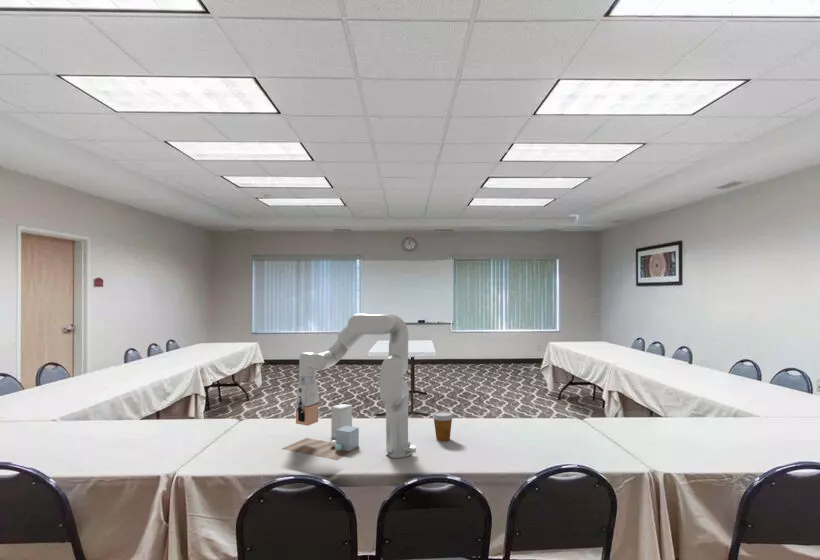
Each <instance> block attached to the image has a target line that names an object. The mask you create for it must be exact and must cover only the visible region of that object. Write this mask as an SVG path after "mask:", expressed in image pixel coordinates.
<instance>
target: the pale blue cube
mask: <svg viewBox="0 0 820 560" xmlns="http://www.w3.org/2000/svg"><path fill="white" fill-rule="evenodd" d="M359 428H360V427H358V426H352V427H351V426H344V427H342V428H339V429H337V430H336V438H335V440H336V444H341V445H342V449H341V450H346V451H351V450H352V449H354V448H356V447H359V446H360V445H359V444H360V439H359V438H360V436H359V435H360V433H359V432H360V429H359Z"/></svg>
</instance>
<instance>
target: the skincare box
mask: <svg viewBox="0 0 820 560" xmlns="http://www.w3.org/2000/svg"><path fill="white" fill-rule="evenodd" d="M344 426H351V427H353V405H352V404H347V403H346V404H345V403H341V404H337V405H332V406H331V435H330V436H331V438H334V439H336V430H337V429H339V428H342V427H344Z"/></svg>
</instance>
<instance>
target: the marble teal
mask: <svg viewBox="0 0 820 560" xmlns="http://www.w3.org/2000/svg"><path fill="white" fill-rule="evenodd" d="M341 449H342V445H341V444H336V446H335V450H336V451H340V450H341Z"/></svg>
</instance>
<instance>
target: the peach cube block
mask: <svg viewBox="0 0 820 560" xmlns="http://www.w3.org/2000/svg"><path fill="white" fill-rule="evenodd" d="M301 409H302V407H301ZM304 412H305V419H304V422H302V421H298V412H297V410H296V409H295V424H296V425H301V426H312V425H313V424H315V423H316V424H317V423H319V403H318V404H313V405H310V406H307V407H304Z"/></svg>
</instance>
